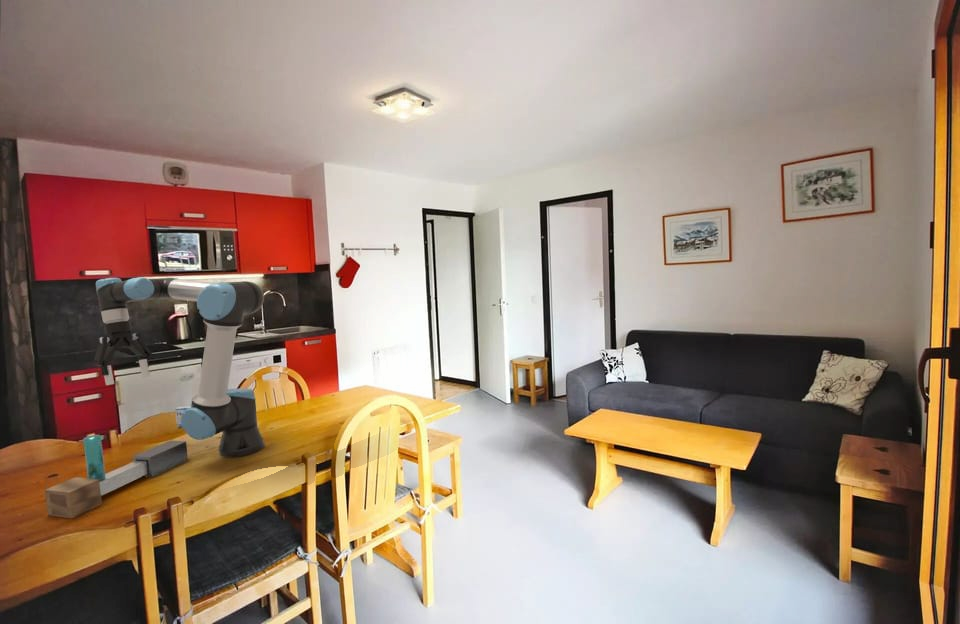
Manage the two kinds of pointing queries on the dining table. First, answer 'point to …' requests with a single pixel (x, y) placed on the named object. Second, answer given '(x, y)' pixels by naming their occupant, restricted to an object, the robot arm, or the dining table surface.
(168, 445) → the sleeve
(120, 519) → the dining table surface
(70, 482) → the socket block
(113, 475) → the sliding bar with handle
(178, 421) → the medicine box
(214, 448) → the dining table surface
